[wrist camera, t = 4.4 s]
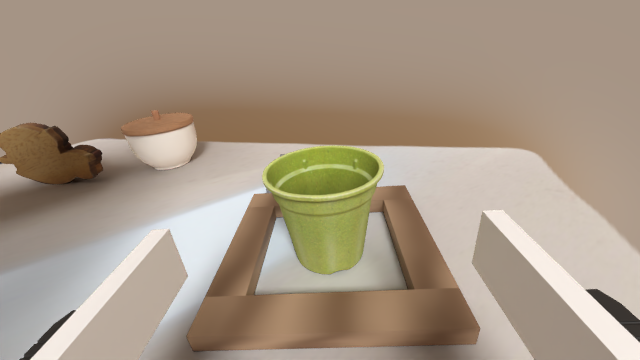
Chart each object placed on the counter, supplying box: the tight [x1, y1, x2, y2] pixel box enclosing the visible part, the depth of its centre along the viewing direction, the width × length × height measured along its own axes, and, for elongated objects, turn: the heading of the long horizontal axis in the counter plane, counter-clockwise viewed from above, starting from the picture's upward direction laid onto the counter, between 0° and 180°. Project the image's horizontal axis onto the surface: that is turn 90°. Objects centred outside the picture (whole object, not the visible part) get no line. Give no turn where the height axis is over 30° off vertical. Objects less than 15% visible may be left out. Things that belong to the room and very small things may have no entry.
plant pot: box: [262, 146, 384, 274], centre depth 24 cm, size 9×9×9 cm
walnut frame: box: [186, 185, 480, 351], centre depth 25 cm, size 18×18×2 cm
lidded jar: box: [121, 110, 197, 170], centre depth 47 cm, size 11×11×9 cm
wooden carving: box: [0, 123, 103, 184], centre depth 44 cm, size 16×5×10 cm, turn 89°
